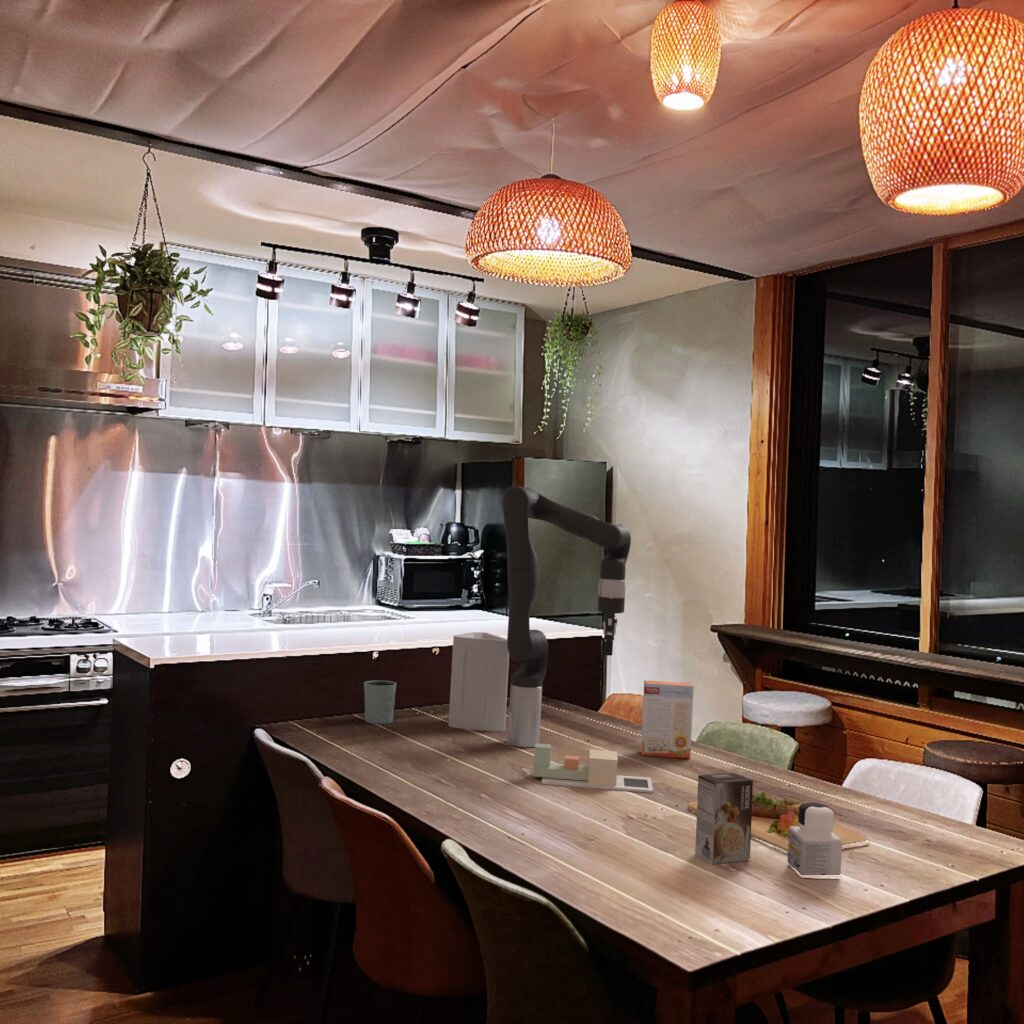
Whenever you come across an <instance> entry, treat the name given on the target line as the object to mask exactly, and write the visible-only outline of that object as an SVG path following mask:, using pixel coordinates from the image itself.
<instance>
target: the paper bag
mask: <svg viewBox="0 0 1024 1024" xmlns="http://www.w3.org/2000/svg"><path fill="white" fill-rule="evenodd" d="M452 639H453V641H452V657H451V659H452V660H451V671H450V672H451V676H450V691H449V694H450V695H449V710H448V711H449V712H448V726H449V727H450V728H455V729H463V730H473V731H482V732H483V731H484V732H491V733H492V732H505V731H506V719H507V702H508V701H507V698H508V683H509V682H508V681H509V667H510V655H509V652H508V647H507V638H504V637H502V636H498V635H495V634H492V633H489V632H485V631H483V632H481V631H480V632H477V631H476V632H474V631H472V632H466V633H462V634H460V633H459V634H456V635H453V638H452Z"/></svg>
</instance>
